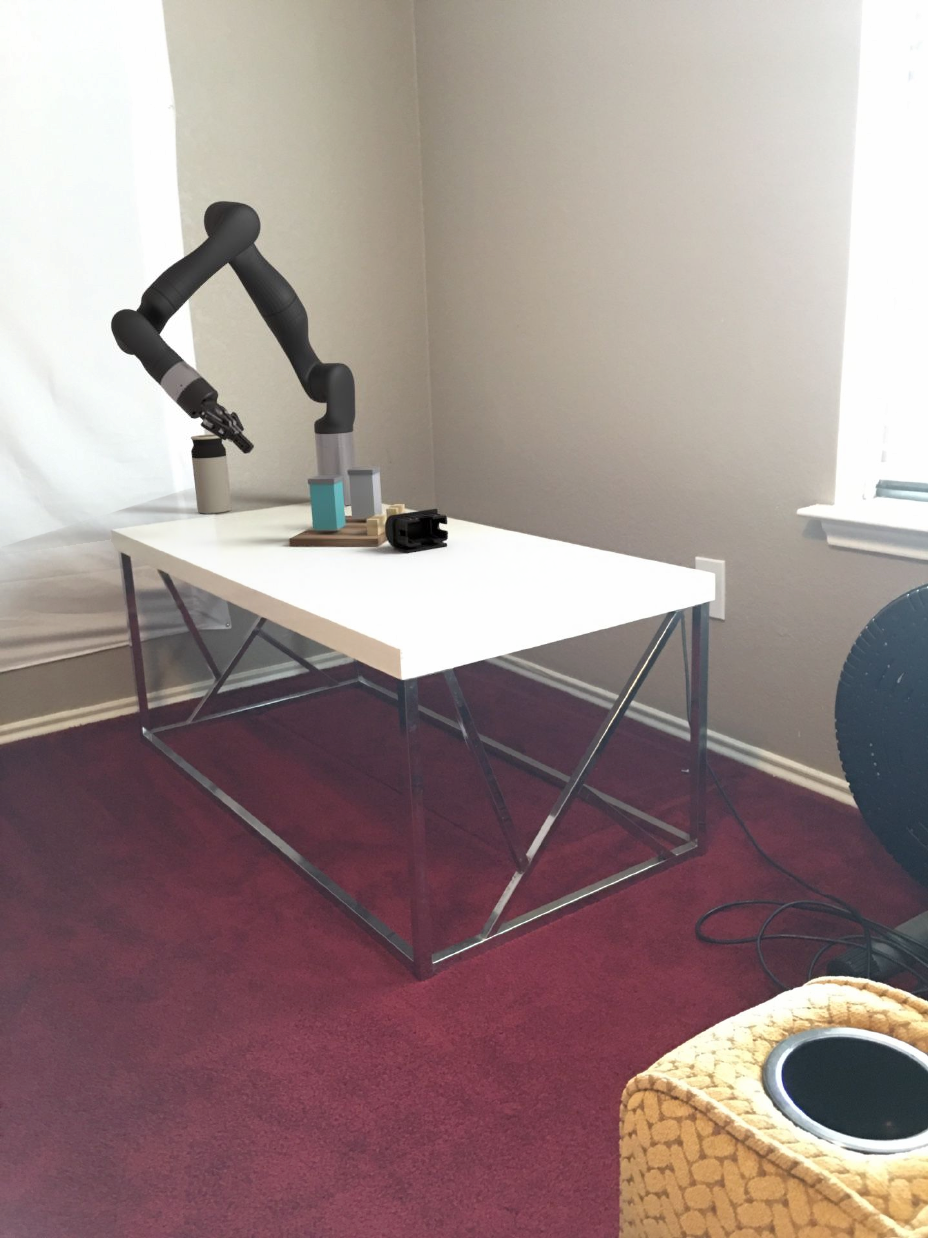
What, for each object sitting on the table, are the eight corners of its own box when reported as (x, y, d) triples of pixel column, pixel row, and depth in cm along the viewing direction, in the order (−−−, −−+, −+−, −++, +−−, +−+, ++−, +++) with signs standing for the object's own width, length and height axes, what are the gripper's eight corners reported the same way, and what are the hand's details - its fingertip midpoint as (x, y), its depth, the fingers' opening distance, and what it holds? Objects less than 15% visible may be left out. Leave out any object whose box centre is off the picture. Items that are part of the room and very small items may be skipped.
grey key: (359, 513, 220) (355, 466, 217) (383, 513, 219) (380, 466, 216) (350, 518, 215) (347, 470, 212) (375, 518, 214) (372, 469, 211)
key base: (335, 522, 226) (333, 502, 225) (414, 522, 222) (413, 501, 221) (289, 546, 201) (287, 523, 200) (378, 546, 197) (376, 523, 196)
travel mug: (237, 508, 251) (229, 433, 247) (222, 514, 244) (214, 437, 239) (207, 508, 253) (199, 434, 248) (192, 514, 246) (183, 437, 241)
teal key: (321, 524, 209) (317, 475, 206) (346, 524, 207) (343, 474, 205) (311, 529, 204) (307, 479, 201) (337, 529, 202) (333, 478, 200)
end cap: (430, 541, 201) (428, 506, 199) (450, 546, 195) (448, 510, 193) (385, 548, 195) (383, 513, 194) (404, 554, 190) (402, 517, 188)
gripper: (184, 376, 202) (247, 439, 202) (215, 375, 214) (274, 434, 215) (162, 405, 205) (224, 467, 205) (194, 401, 217) (253, 460, 217)
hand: (250, 450), depth 210 cm, fingers closed
